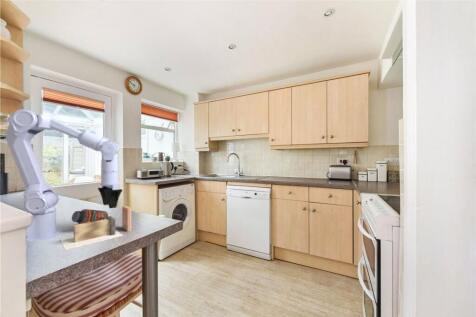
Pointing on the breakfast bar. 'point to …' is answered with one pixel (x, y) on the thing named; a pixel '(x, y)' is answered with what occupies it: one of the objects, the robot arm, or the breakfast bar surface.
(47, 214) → the robot arm
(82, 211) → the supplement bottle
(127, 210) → the tile
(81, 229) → the wooden tool caddy
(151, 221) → the breakfast bar surface
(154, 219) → the breakfast bar surface
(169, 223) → the breakfast bar surface
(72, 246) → the rest mat
